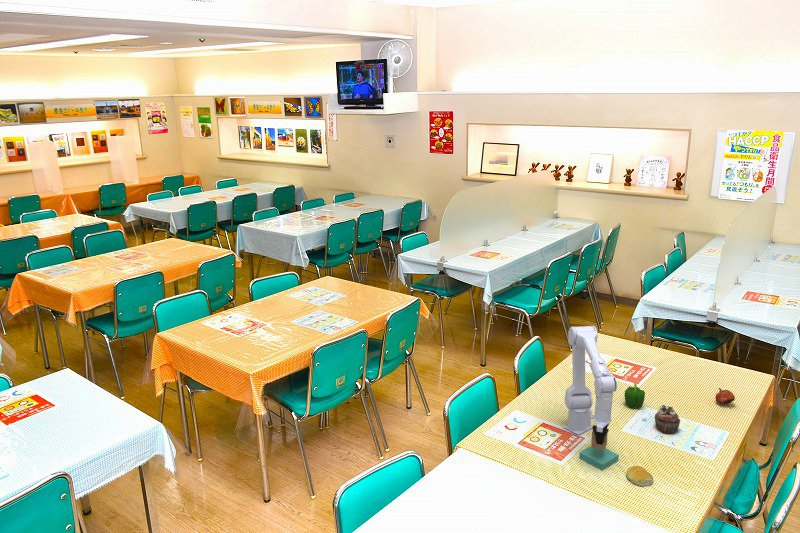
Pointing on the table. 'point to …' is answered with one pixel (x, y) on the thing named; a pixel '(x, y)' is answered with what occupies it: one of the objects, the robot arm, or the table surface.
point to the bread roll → (639, 476)
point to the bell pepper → (634, 397)
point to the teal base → (598, 457)
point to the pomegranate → (724, 397)
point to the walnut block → (593, 444)
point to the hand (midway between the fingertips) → (600, 440)
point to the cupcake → (667, 420)
